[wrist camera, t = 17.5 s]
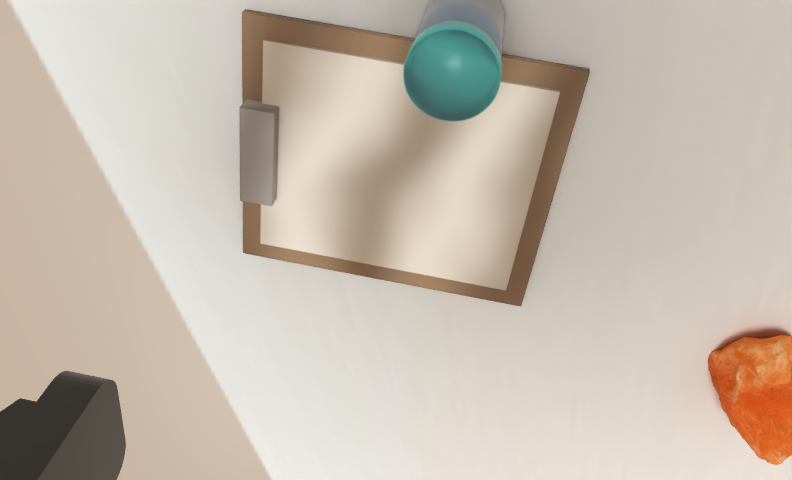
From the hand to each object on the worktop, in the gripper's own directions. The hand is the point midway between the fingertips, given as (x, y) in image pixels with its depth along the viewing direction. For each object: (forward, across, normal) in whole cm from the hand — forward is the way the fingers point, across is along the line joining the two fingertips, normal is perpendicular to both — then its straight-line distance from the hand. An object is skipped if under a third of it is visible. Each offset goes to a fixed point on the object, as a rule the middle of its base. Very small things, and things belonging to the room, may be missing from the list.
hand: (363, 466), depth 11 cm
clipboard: (+23, +2, +8) cm, 24 cm away
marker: (+23, 0, 0) cm, 23 cm away
